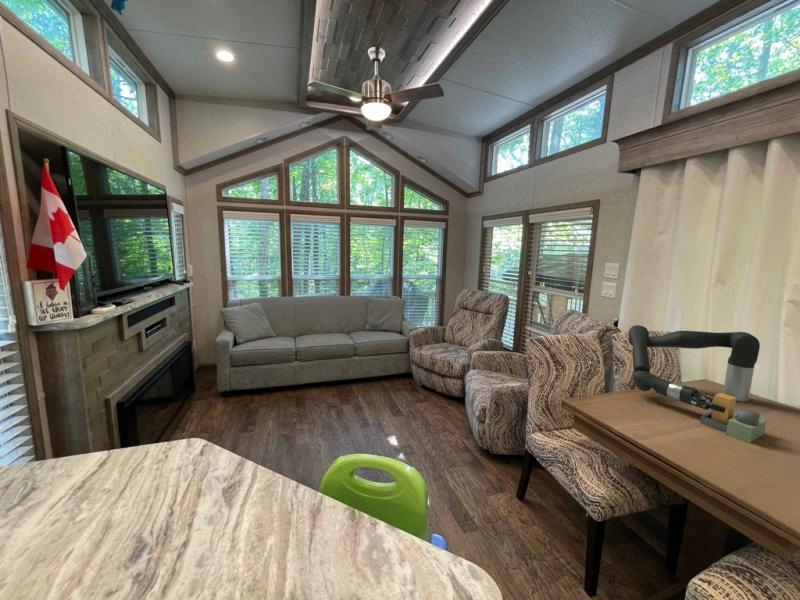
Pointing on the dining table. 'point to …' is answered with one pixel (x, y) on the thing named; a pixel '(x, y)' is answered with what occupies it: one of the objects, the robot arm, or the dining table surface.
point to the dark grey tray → (713, 422)
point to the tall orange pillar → (725, 402)
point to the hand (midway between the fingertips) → (729, 408)
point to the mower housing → (746, 425)
